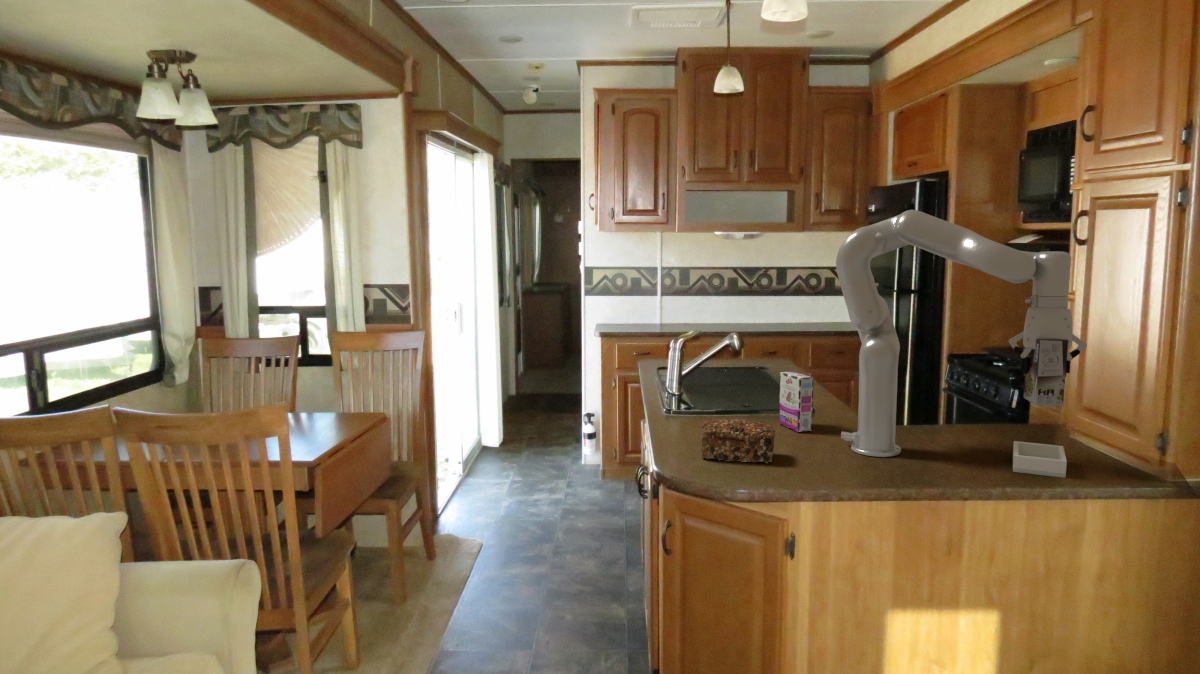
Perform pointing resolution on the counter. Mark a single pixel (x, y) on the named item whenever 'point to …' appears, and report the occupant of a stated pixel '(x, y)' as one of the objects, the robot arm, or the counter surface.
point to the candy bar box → (796, 401)
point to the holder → (1039, 459)
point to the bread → (737, 440)
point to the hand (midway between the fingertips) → (1044, 374)
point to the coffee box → (1046, 372)
